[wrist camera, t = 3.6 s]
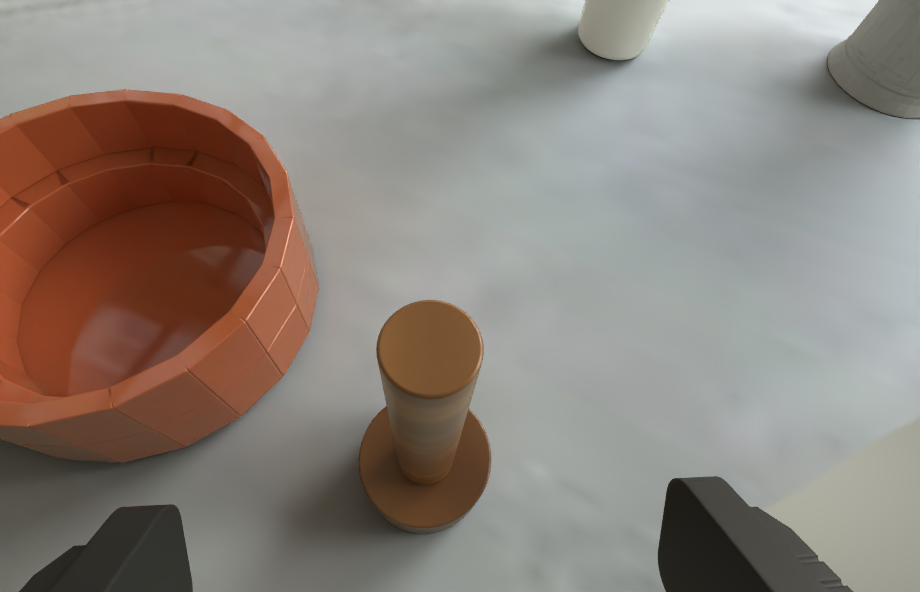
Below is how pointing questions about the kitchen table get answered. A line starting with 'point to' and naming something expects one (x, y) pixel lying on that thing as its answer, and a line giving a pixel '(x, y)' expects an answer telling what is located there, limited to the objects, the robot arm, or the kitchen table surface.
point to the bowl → (143, 274)
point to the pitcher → (883, 59)
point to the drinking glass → (619, 26)
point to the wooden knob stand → (426, 420)
